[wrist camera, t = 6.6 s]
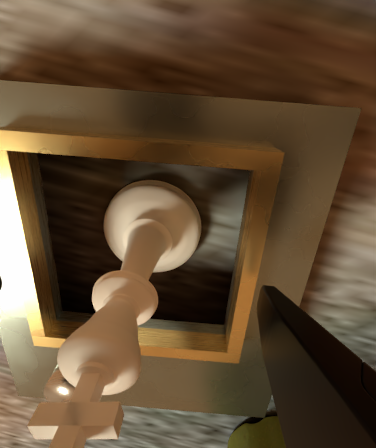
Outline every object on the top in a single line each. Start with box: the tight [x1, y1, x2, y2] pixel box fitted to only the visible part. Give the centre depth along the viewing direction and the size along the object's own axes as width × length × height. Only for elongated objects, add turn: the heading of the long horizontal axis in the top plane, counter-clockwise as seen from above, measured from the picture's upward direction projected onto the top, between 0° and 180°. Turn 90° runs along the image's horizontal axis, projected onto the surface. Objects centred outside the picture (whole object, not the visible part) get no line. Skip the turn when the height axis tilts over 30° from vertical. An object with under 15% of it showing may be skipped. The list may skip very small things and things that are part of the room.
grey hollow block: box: [0, 80, 361, 418], centre depth 12 cm, size 14×16×5 cm
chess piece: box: [27, 180, 201, 448], centre depth 9 cm, size 5×5×10 cm
